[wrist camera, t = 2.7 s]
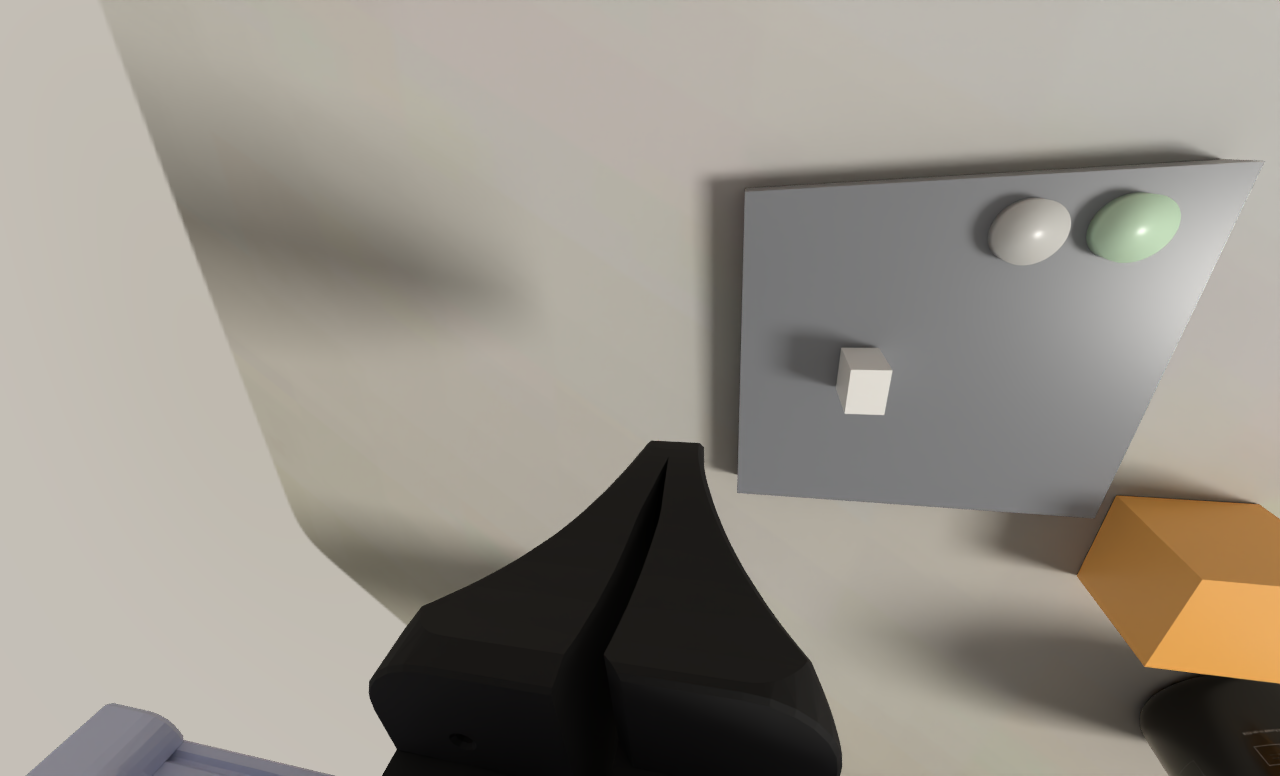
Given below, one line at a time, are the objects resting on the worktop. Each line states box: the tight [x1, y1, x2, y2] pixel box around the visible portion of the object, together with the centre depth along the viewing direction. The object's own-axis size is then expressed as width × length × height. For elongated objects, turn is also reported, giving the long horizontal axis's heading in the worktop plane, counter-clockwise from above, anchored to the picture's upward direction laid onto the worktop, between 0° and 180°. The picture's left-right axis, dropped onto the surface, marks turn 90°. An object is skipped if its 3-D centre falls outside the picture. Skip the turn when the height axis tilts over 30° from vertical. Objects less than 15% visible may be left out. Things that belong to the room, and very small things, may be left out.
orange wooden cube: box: [1077, 495, 1280, 684], centre depth 17 cm, size 4×4×4 cm
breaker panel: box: [737, 159, 1265, 518], centre depth 16 cm, size 13×12×2 cm
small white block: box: [836, 348, 893, 415], centre depth 16 cm, size 1×2×2 cm
